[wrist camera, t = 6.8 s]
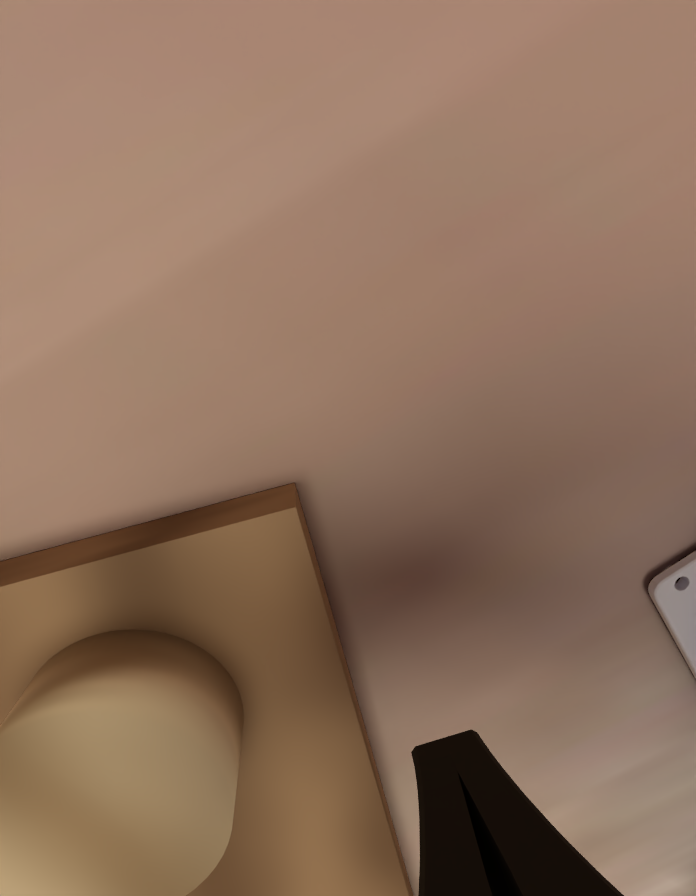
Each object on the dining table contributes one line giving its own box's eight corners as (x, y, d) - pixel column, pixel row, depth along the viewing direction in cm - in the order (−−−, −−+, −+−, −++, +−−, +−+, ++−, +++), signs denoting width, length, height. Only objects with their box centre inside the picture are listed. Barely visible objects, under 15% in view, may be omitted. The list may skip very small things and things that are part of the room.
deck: (294, 482, 15) (295, 507, 13) (415, 900, 20) (428, 962, 18) (-41, 572, 15) (-90, 611, 13) (165, 978, 20) (152, 1050, 18)
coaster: (150, 588, 14) (112, 663, 11) (285, 733, 15) (284, 831, 12) (-28, 711, 14) (-111, 815, 11) (122, 840, 15) (84, 961, 13)
